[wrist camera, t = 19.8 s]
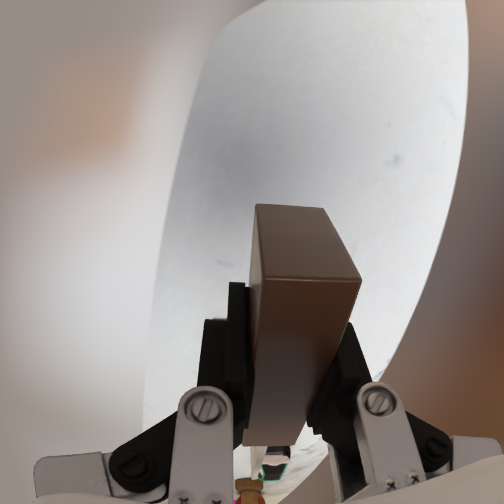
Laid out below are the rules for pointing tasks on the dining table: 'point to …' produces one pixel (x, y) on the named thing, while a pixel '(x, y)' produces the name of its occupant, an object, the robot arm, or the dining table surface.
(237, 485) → the mortar and pestle
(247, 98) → the dining table surface
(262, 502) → the apple
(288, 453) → the toy car
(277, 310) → the knife
